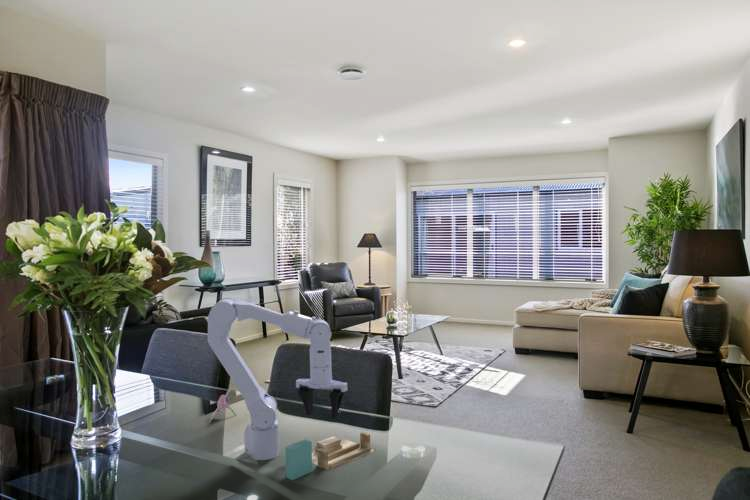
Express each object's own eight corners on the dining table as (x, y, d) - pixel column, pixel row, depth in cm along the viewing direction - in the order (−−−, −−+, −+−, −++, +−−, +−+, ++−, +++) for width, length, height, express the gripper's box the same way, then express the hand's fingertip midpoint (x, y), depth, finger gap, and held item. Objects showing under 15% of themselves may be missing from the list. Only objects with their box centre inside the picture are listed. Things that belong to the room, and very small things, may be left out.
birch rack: (299, 461, 135) (298, 441, 135) (344, 443, 146) (344, 424, 146) (329, 475, 126) (328, 454, 126) (374, 455, 138) (374, 435, 138)
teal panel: (286, 479, 123) (285, 446, 123) (306, 471, 128) (305, 439, 128) (292, 482, 122) (291, 449, 122) (312, 474, 126) (311, 441, 126)
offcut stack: (314, 452, 137) (314, 443, 137) (333, 444, 142) (333, 435, 142) (323, 456, 135) (323, 447, 135) (342, 448, 139) (342, 439, 139)
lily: (224, 412, 178) (209, 390, 175) (252, 400, 175) (238, 378, 172) (210, 435, 166) (194, 412, 164) (240, 423, 164) (224, 400, 161)
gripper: (289, 367, 137) (291, 417, 138) (338, 371, 132) (340, 423, 132) (302, 361, 144) (304, 409, 144) (350, 364, 139) (351, 414, 139)
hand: (322, 415), depth 139 cm, fingers open, 7 cm apart
